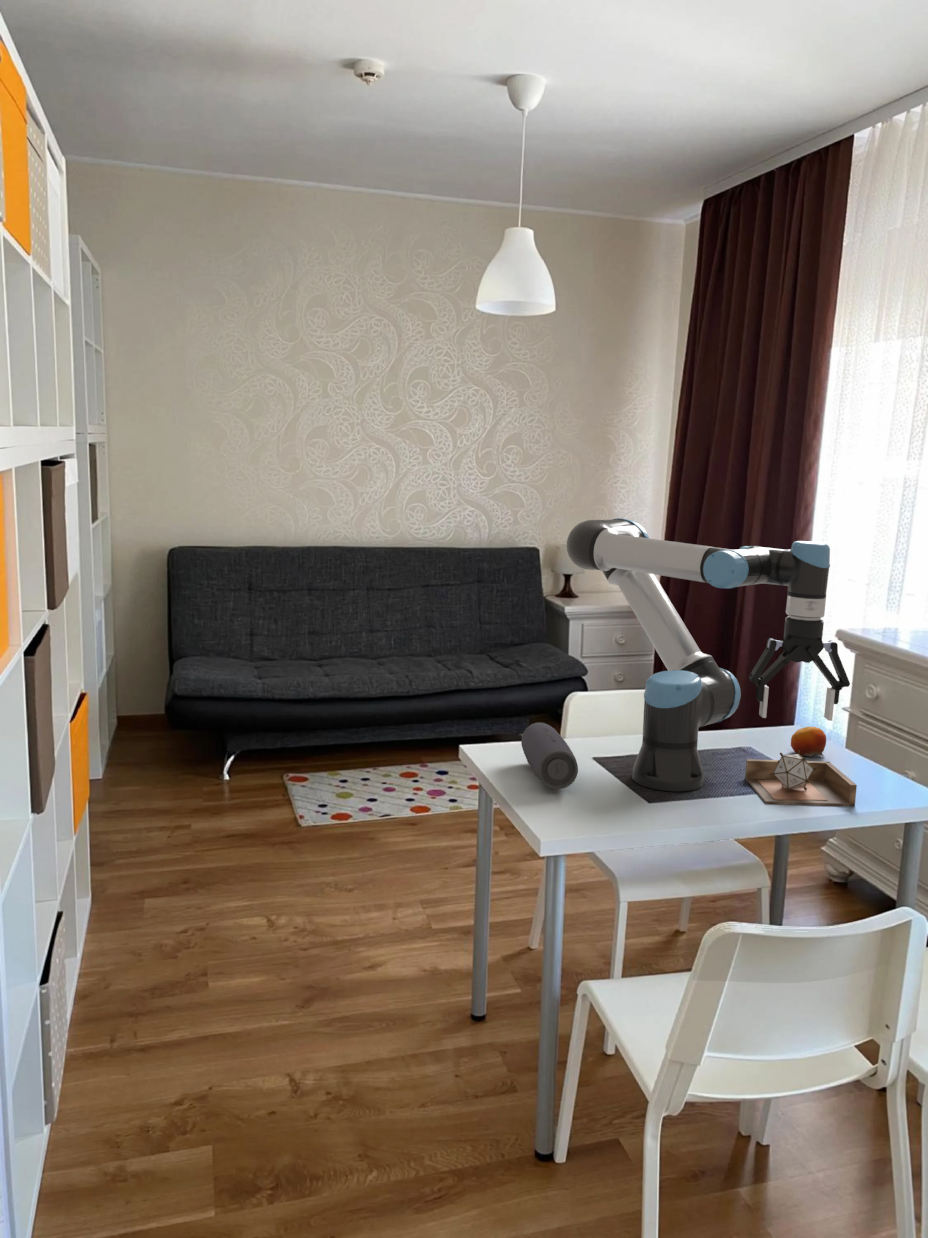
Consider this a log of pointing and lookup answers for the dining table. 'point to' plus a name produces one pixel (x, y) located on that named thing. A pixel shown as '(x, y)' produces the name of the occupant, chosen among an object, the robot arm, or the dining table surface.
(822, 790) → the brown wooden tray
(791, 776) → the game die
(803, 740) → the fruit
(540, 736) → the bluetooth speaker
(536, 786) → the dining table surface
